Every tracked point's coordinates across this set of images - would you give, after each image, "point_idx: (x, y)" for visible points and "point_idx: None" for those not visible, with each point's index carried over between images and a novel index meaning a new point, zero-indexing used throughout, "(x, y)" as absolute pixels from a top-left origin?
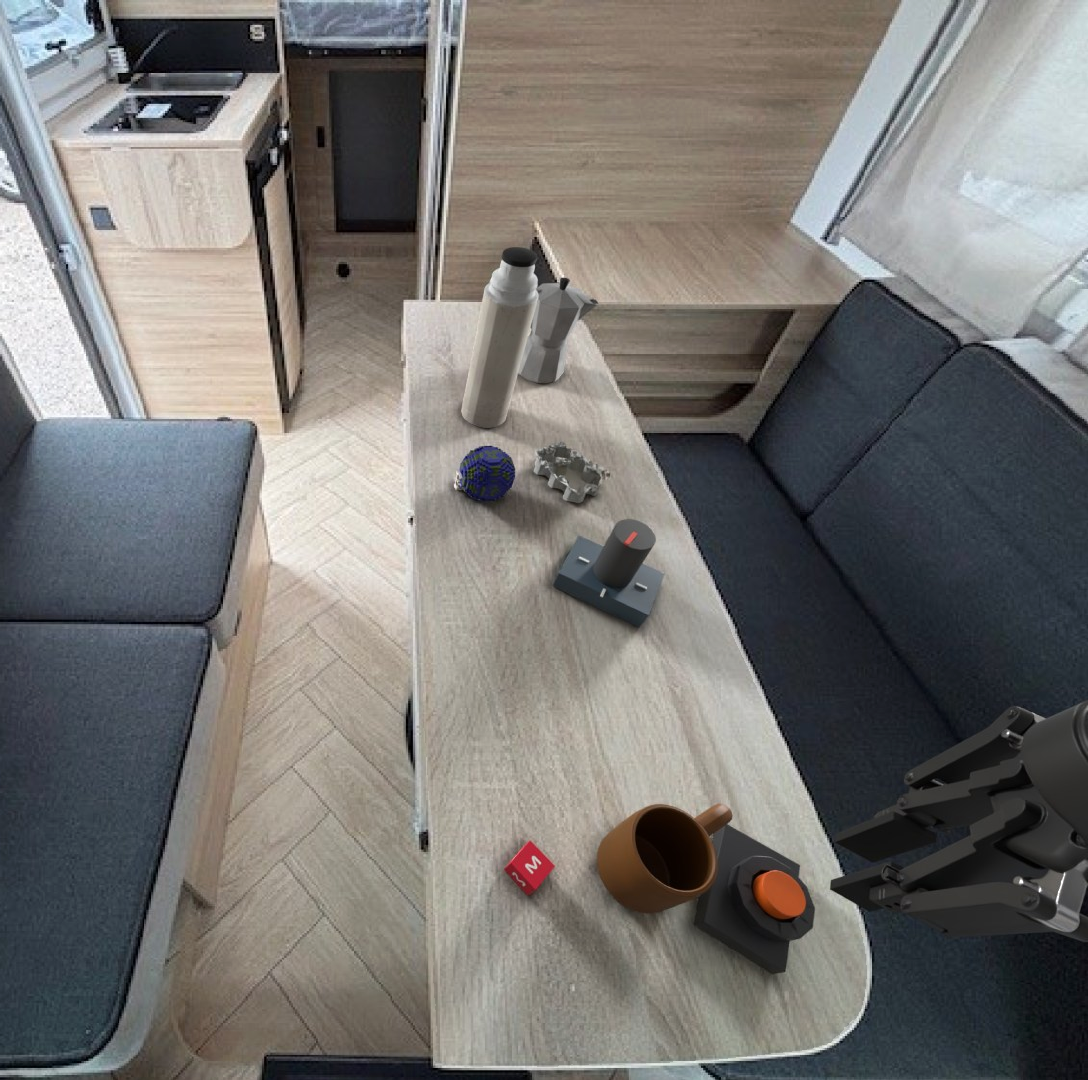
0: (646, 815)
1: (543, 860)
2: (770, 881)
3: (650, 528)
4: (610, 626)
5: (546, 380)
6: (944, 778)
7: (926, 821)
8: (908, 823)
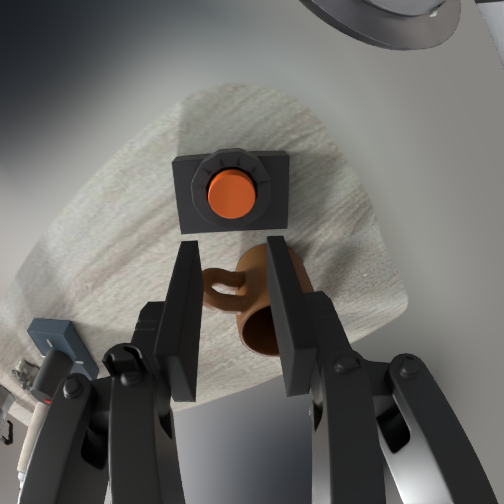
0: (250, 328)
1: None
2: (228, 211)
3: (31, 391)
4: (88, 336)
5: (4, 389)
6: (97, 473)
7: (160, 393)
8: (180, 387)
